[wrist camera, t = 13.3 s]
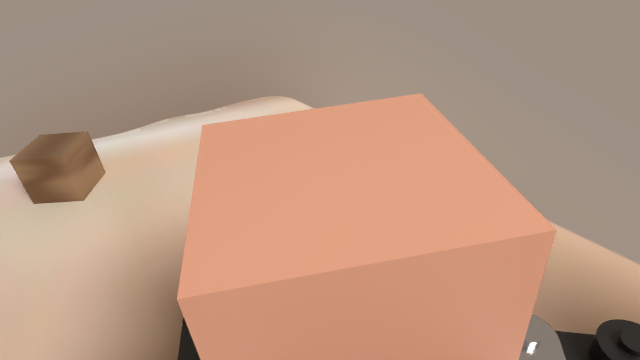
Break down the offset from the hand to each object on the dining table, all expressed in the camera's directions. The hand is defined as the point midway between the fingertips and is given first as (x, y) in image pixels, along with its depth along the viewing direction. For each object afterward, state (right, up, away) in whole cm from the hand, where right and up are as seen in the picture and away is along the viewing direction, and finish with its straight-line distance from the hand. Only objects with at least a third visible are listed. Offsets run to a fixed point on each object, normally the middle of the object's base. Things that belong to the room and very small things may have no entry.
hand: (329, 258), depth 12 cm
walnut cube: (-21, +2, +23) cm, 30 cm away
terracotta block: (+1, -7, +2) cm, 8 cm away
